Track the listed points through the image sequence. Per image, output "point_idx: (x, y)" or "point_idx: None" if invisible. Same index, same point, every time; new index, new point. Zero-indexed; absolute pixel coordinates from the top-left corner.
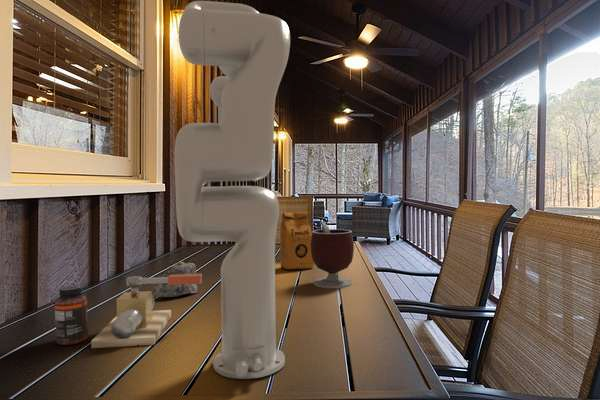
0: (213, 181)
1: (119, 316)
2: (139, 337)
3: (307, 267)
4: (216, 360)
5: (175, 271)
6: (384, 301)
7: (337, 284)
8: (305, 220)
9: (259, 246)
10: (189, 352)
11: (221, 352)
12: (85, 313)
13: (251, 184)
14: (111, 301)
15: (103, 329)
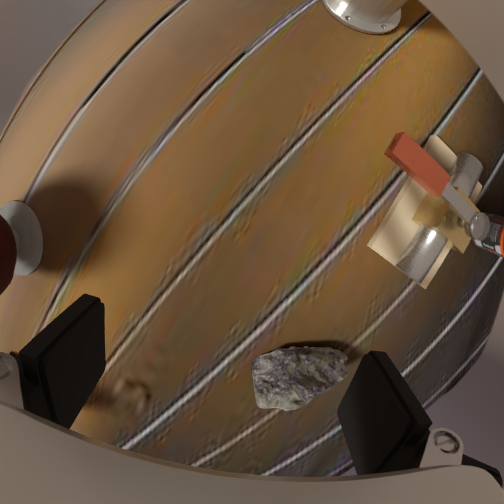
0: (446, 429)
1: (479, 173)
2: (448, 149)
3: (14, 357)
4: (396, 19)
5: (310, 385)
6: (34, 84)
7: (18, 215)
8: None
9: None
10: (405, 76)
11: (384, 29)
12: (496, 223)
13: (55, 355)
14: None
15: None
